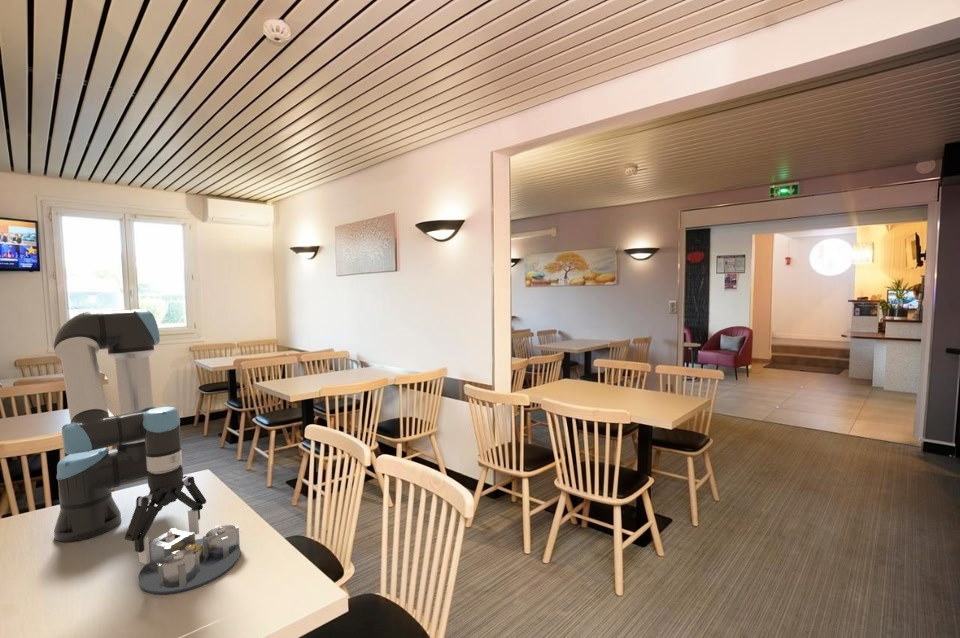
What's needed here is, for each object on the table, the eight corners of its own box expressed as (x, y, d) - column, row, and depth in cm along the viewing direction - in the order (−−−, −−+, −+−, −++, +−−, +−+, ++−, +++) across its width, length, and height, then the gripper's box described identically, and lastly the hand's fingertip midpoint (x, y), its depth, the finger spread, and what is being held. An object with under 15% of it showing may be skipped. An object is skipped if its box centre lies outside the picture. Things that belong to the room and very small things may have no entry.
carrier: (134, 564, 118) (131, 535, 117) (228, 532, 133) (227, 506, 132) (144, 608, 102) (142, 575, 101) (251, 566, 116) (249, 537, 116)
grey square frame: (143, 563, 116) (141, 544, 116) (175, 544, 125) (173, 527, 124) (168, 569, 114) (166, 550, 113) (198, 549, 122) (197, 531, 122)
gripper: (124, 491, 104) (131, 579, 106) (217, 452, 128) (222, 524, 130) (102, 487, 107) (109, 573, 108) (197, 449, 130) (202, 520, 132)
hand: (170, 547), depth 119 cm, fingers open, 13 cm apart
